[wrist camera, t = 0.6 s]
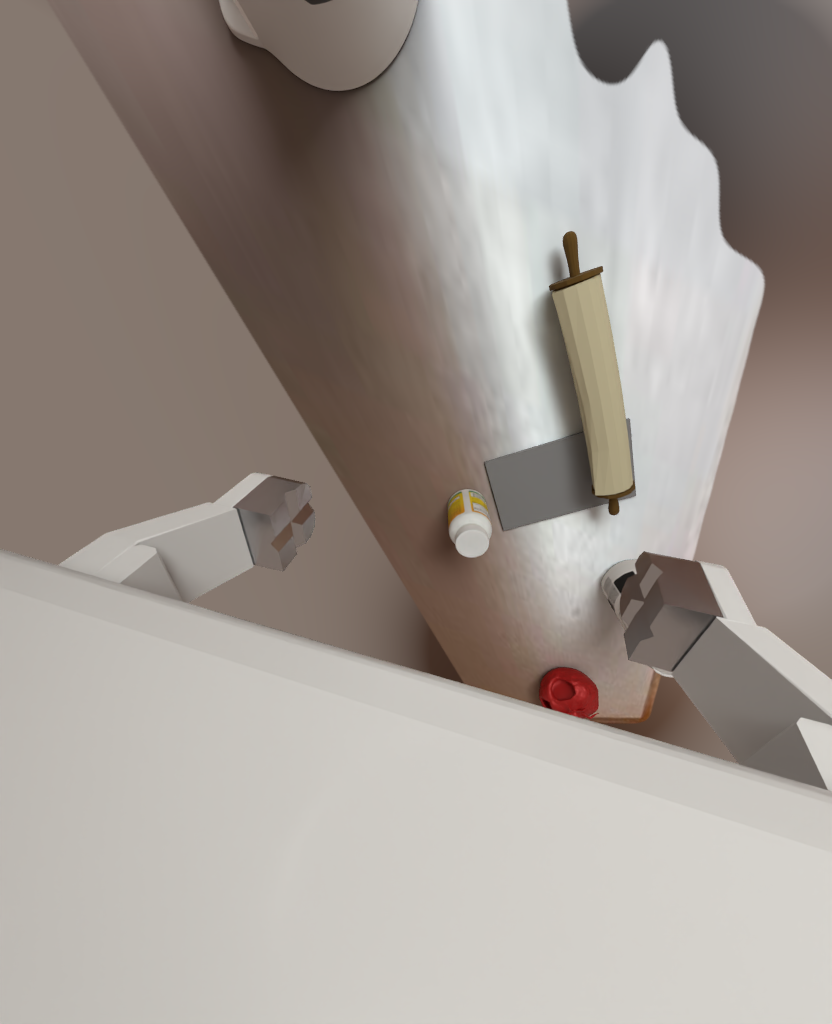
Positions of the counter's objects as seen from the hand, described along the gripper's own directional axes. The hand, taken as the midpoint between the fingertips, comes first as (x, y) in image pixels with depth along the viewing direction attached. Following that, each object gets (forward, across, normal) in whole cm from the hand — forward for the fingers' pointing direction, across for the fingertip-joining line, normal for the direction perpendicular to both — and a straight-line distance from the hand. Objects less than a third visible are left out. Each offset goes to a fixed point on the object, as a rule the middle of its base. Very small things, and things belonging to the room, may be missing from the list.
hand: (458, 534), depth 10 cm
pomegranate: (+38, -18, +60) cm, 74 cm away
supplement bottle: (+37, +4, +25) cm, 45 cm away
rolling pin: (+42, -8, +9) cm, 43 cm away
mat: (+40, -8, +20) cm, 46 cm away
